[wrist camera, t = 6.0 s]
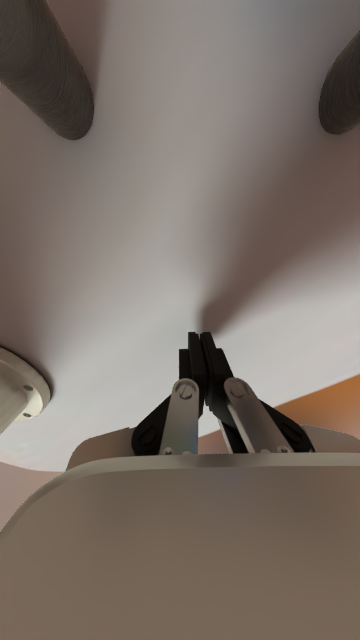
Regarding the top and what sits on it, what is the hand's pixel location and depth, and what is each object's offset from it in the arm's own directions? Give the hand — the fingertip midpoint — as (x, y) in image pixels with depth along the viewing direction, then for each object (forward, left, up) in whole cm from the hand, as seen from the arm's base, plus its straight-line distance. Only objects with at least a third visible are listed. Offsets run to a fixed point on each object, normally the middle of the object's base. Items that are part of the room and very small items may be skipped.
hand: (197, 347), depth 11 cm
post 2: (+6, +13, -2) cm, 15 cm away
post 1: (-6, +13, -2) cm, 15 cm away
